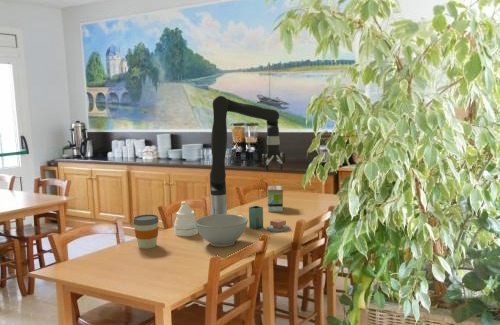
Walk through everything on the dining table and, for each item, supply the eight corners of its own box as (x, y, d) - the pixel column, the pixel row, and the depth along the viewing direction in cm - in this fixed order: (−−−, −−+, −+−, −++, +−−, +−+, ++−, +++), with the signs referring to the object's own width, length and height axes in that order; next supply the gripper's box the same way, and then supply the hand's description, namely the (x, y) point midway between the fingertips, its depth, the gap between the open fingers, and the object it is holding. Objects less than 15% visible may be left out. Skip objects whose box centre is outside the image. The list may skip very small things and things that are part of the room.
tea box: (283, 211, 319) (283, 189, 318) (267, 212, 320) (267, 189, 318) (282, 206, 334) (282, 185, 332) (267, 207, 335) (267, 185, 333)
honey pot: (193, 236, 267) (192, 204, 265) (171, 235, 270) (169, 203, 268) (200, 230, 280) (199, 199, 278) (179, 229, 282) (177, 198, 280)
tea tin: (256, 229, 278) (255, 208, 276) (249, 227, 282) (248, 207, 280) (263, 227, 281) (262, 207, 280) (256, 226, 285) (256, 205, 284)
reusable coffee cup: (135, 250, 245) (133, 221, 243) (134, 243, 257) (132, 215, 255) (161, 248, 248) (159, 218, 246) (158, 241, 260) (157, 213, 258)
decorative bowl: (237, 233, 271) (236, 212, 269) (256, 246, 246) (255, 222, 245) (189, 240, 261) (188, 217, 259) (205, 254, 236) (204, 229, 234)
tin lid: (278, 229, 273) (277, 222, 273) (270, 227, 278) (270, 220, 277) (285, 227, 277) (285, 220, 277) (278, 225, 282) (278, 218, 282)
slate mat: (272, 233, 269) (272, 231, 269) (263, 227, 281) (263, 226, 281) (293, 230, 274) (293, 228, 274) (283, 225, 286) (283, 223, 286)
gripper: (264, 144, 287) (265, 172, 289) (286, 143, 292) (287, 170, 294) (259, 143, 294) (260, 170, 296) (281, 142, 299) (282, 169, 301)
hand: (273, 170), depth 295 cm, fingers open, 8 cm apart
